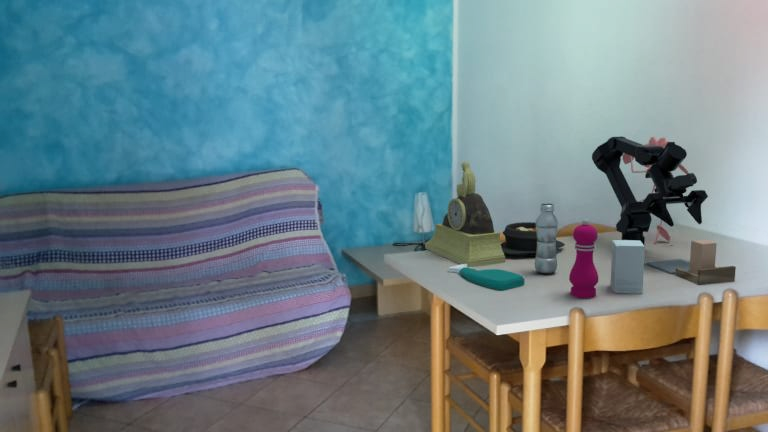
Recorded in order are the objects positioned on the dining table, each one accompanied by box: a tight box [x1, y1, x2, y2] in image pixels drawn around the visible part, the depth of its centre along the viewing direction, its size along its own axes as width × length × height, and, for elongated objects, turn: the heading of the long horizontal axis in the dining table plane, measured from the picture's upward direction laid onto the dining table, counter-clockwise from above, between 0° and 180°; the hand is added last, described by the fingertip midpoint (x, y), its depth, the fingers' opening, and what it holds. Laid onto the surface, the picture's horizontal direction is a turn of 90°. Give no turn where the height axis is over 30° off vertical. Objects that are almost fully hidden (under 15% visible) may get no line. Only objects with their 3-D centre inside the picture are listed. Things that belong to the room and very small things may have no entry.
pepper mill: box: [568, 218, 599, 299], centre depth 179 cm, size 7×7×20 cm
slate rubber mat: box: [644, 258, 690, 275], centre depth 205 cm, size 12×12×1 cm
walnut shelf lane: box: [675, 265, 737, 286], centre depth 193 cm, size 10×11×4 cm
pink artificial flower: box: [622, 136, 689, 247], centre depth 239 cm, size 15×26×35 cm, turn 36°
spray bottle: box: [448, 264, 525, 292], centre depth 198 cm, size 3×11×24 cm
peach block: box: [689, 239, 717, 275], centre depth 194 cm, size 4×4×10 cm
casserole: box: [500, 221, 566, 257], centre depth 227 cm, size 25×19×8 cm
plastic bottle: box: [533, 202, 559, 274], centre depth 201 cm, size 6×7×20 cm
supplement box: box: [610, 239, 646, 295], centre depth 184 cm, size 7×7×13 cm
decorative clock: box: [424, 160, 506, 268], centre depth 222 cm, size 28×13×30 cm, turn 24°
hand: (686, 224), depth 200 cm, fingers open, 9 cm apart
